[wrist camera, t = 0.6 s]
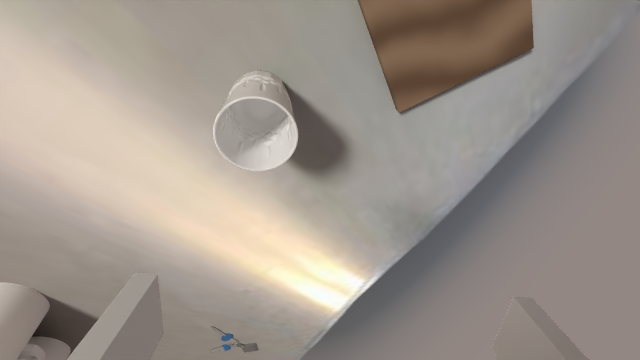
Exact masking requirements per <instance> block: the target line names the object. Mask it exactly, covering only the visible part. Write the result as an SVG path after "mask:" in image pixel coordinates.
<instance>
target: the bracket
mask: <svg viewBox="0 0 640 360" xmlns="http://www.w3.org/2000/svg"><path fill="white" fill-rule="evenodd" d="M49 308H50V304H49V302H48V300H47V299H46V298H45V297H44V296H43V295H42V294H40V293H39V292H37V291H35V290H33V289H31V288H28V287H26V286H22V285H18V284H13V283H0V360H67V358H68V356H69V354H70V352H71V350H70V347H69V346H68V345H67V344H66V343H64V342H62V341H60V340H57V339H54V338H49V337H32V335H33V334H34V332H35V331H36V329H37V328H38V326H39V324H40V323H41V321H42V320H43V318H44V317H45V315H46V314H47V312H48V310H49Z"/></svg>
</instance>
